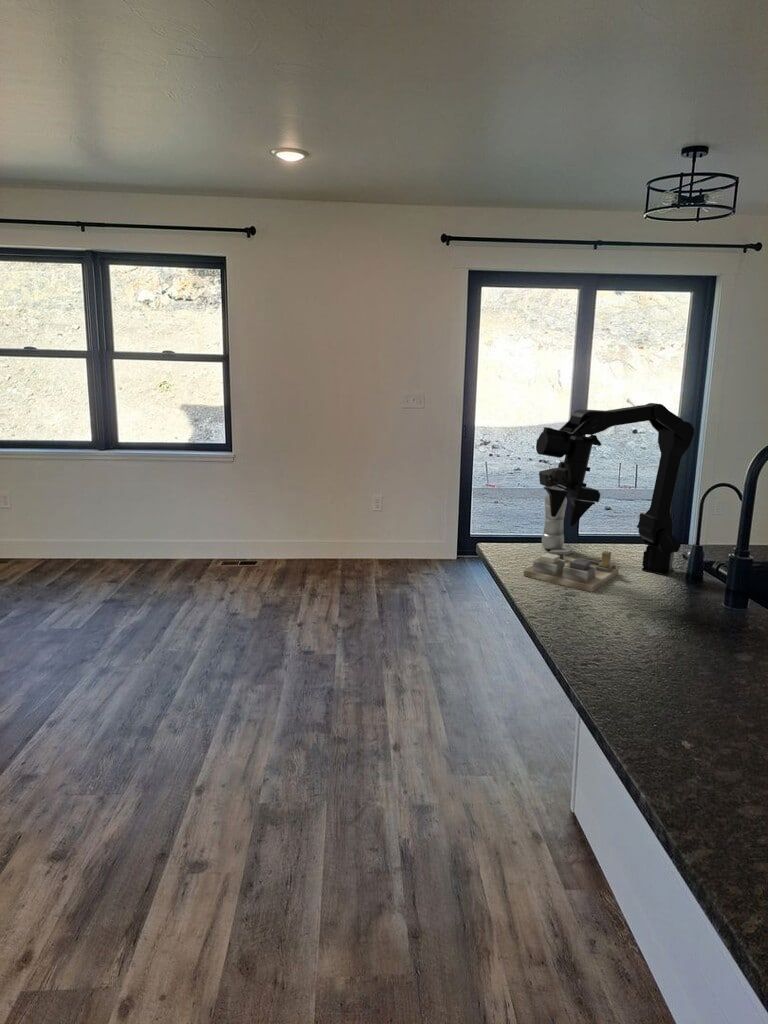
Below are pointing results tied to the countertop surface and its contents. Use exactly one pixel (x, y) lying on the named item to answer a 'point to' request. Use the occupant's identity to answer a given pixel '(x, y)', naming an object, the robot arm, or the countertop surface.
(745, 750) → the countertop surface
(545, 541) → the plastic bottle
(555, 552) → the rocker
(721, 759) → the countertop surface
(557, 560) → the cream button
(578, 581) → the panel
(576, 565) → the charcoal button
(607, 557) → the slider
